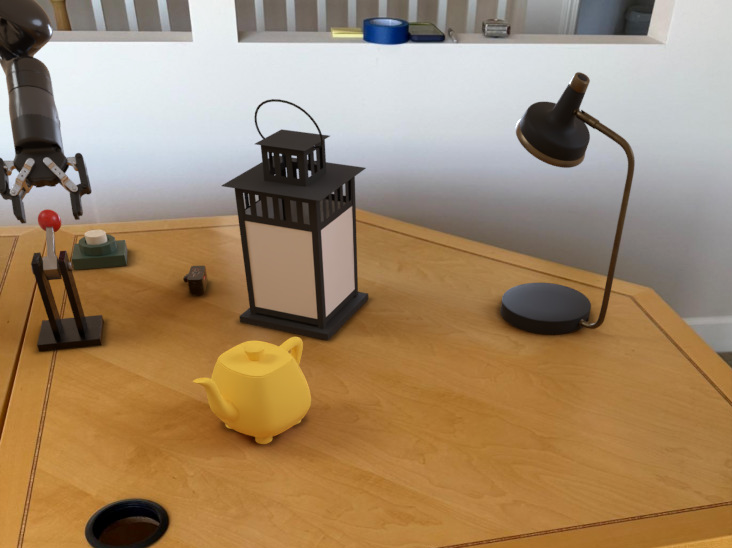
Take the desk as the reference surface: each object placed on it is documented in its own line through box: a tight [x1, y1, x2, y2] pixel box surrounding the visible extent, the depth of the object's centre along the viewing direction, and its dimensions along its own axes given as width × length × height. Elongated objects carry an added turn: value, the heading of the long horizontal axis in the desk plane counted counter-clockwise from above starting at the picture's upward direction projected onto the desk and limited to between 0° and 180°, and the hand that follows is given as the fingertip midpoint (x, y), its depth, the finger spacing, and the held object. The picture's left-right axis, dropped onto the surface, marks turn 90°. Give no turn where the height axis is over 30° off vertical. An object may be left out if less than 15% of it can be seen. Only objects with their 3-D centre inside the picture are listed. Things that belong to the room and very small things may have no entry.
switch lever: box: [37, 208, 63, 281], centre depth 126 cm, size 13×4×4 cm, turn 14°
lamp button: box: [84, 229, 107, 245], centre depth 153 cm, size 4×4×2 cm
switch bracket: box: [30, 250, 105, 352], centre depth 128 cm, size 9×10×14 cm
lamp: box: [499, 71, 636, 336], centre depth 127 cm, size 16×22×38 cm
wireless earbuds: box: [182, 265, 209, 296], centre depth 146 cm, size 5×7×3 cm, turn 4°
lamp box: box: [71, 233, 129, 271], centre depth 155 cm, size 10×8×4 cm
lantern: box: [221, 98, 369, 341], centre depth 129 cm, size 17×17×35 cm
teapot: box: [192, 336, 312, 445], centre depth 109 cm, size 13×20×12 cm
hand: (49, 219), depth 128 cm, fingers open, 8 cm apart
